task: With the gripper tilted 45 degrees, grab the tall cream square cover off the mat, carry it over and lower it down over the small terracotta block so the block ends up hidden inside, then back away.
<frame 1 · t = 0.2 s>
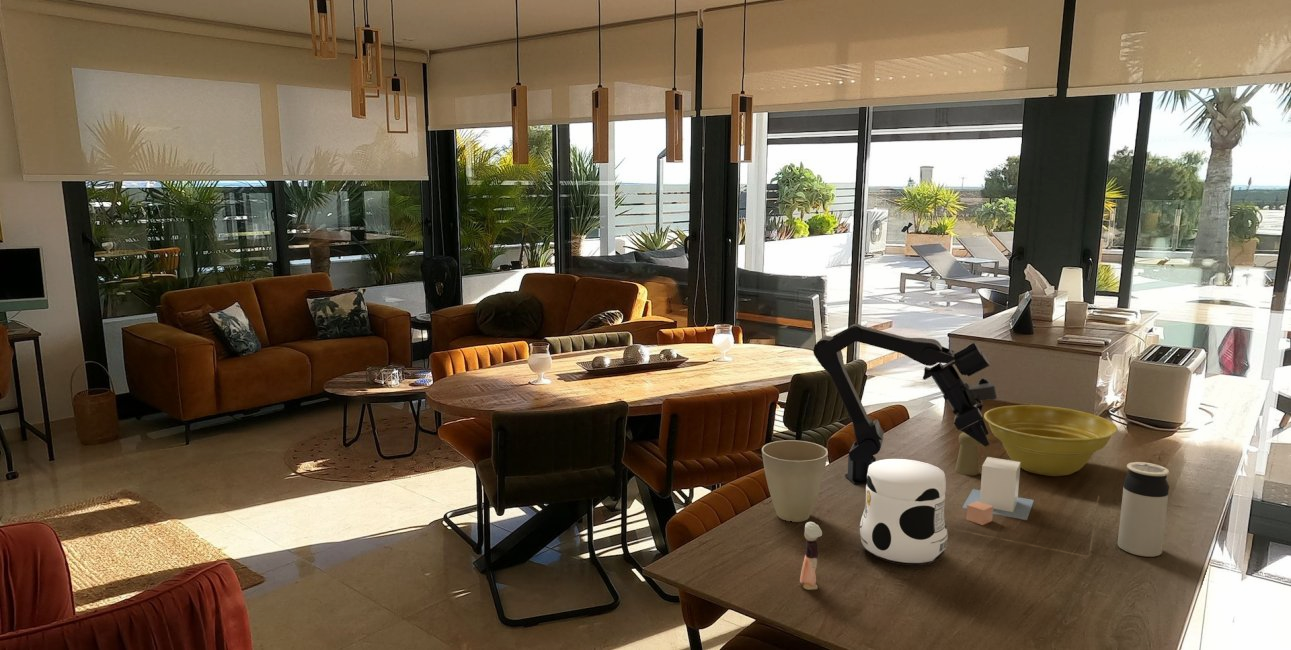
hand: (987, 439, 199), 14 cm above the table, tool tilted 35°, fingers open, 9 cm apart
planter bowl: (1044, 468, 222), on the table
plant pot: (792, 516, 189), on the table
cover: (998, 503, 195), resting on mat
block: (979, 522, 186), on the table
grandmother figurine: (809, 586, 156), on the table
milk container: (901, 554, 170), on the table
travel mug: (1139, 550, 172), on the table
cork: (966, 473, 218), on the table
mat: (998, 505, 195), on the table
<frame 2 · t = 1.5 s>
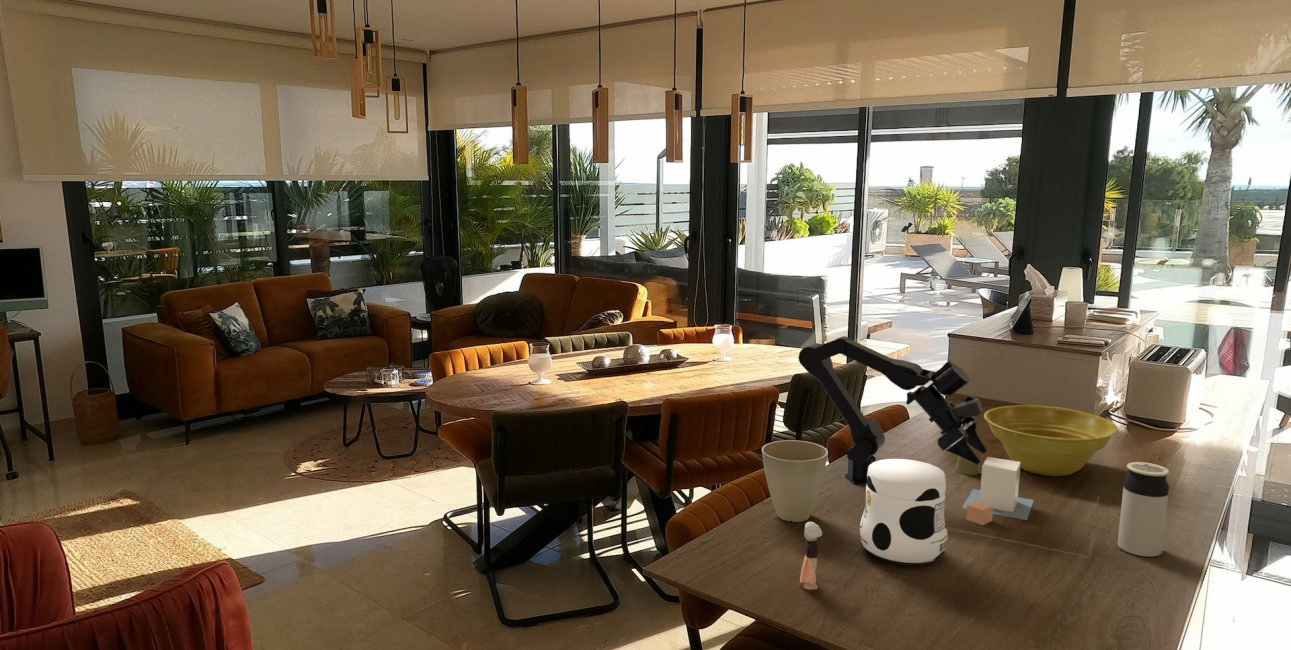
hand: (982, 457, 196), 11 cm above the table, tool tilted 45°, fingers open, 9 cm apart
nothing on the table moved.
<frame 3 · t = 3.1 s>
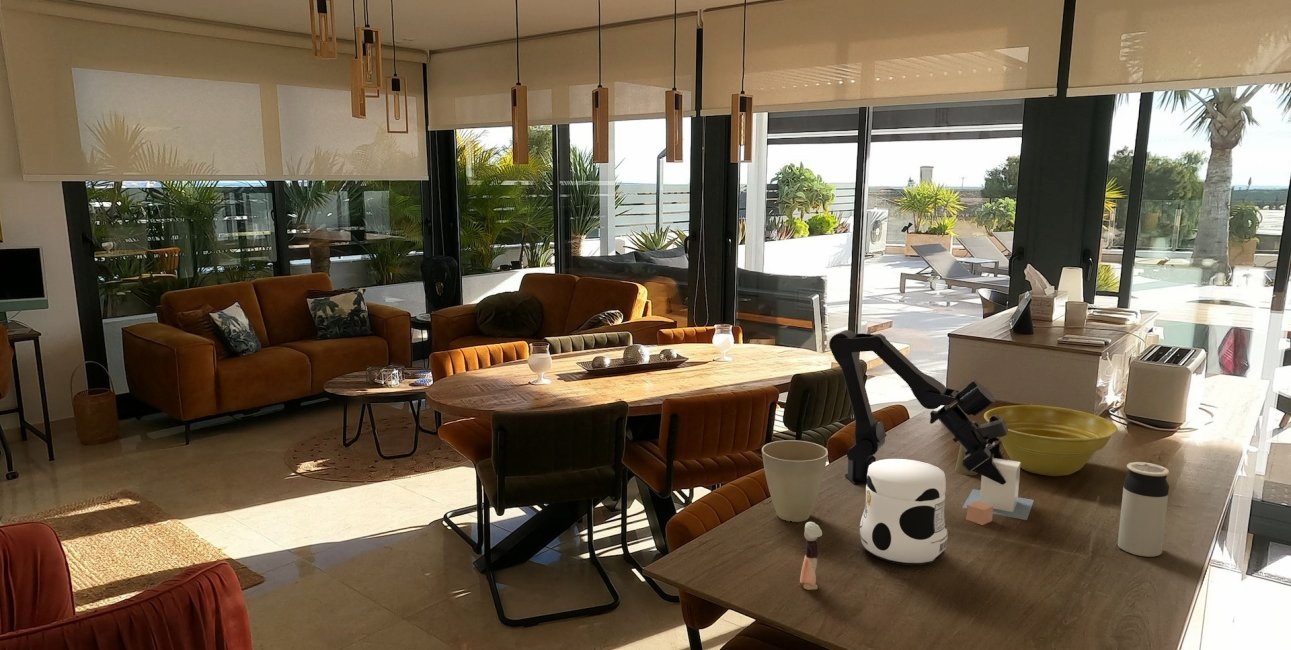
hand: (1006, 478, 194), 7 cm above the table, tool tilted 45°, fingers closed on cover, 7 cm apart
cover: (998, 503, 195), resting on mat, touching gripper
everything else where it was.
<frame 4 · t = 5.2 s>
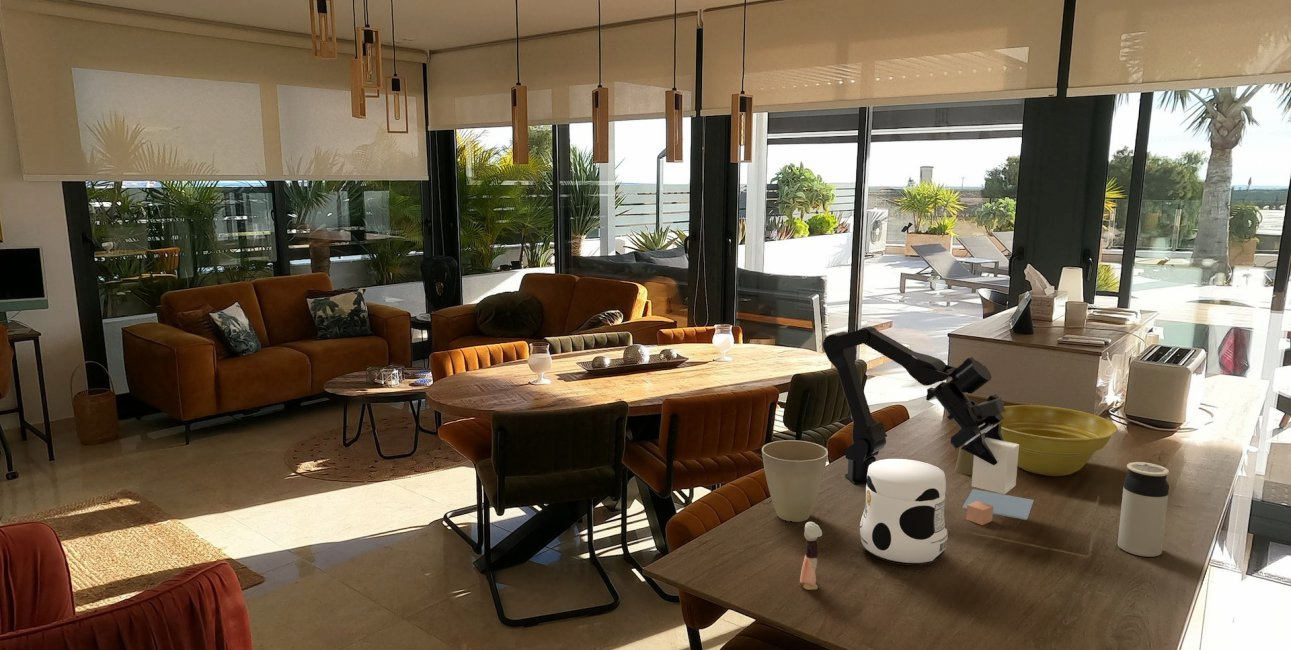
hand: (1001, 459, 187), 13 cm above the table, tool tilted 45°, fingers closed on cover, 7 cm apart
cover: (993, 485, 189), point 7 cm above the table, touching gripper
everything else where it was.
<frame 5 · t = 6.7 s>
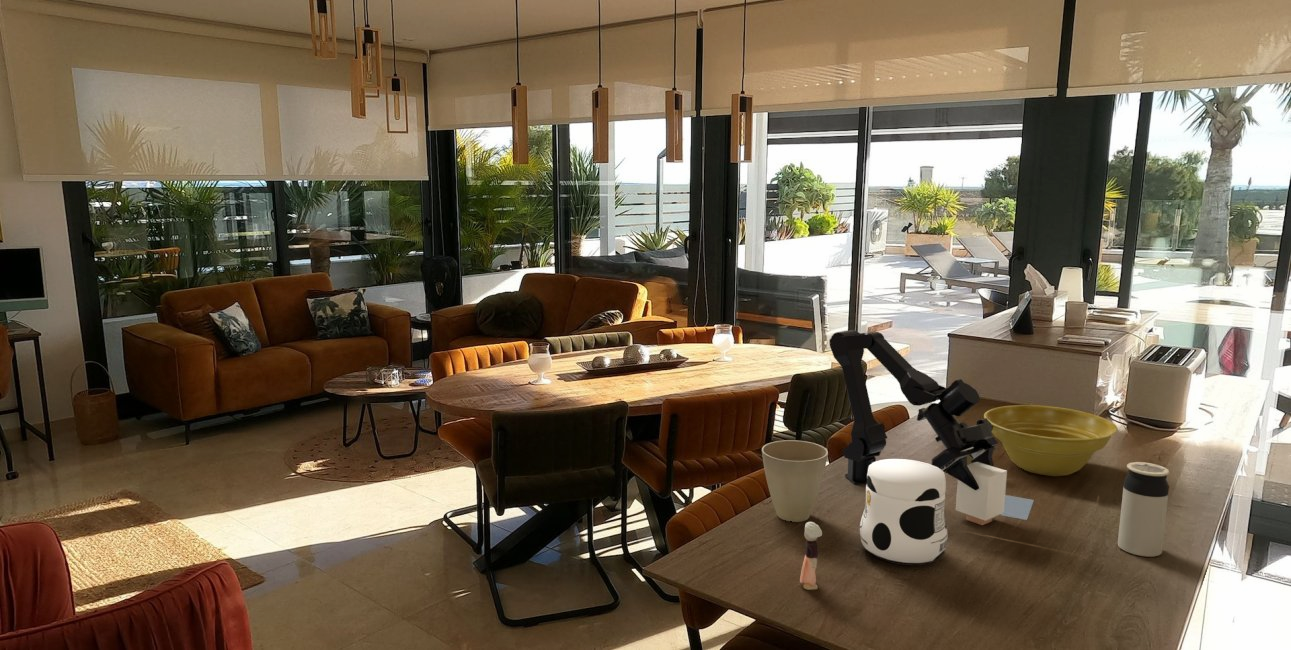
hand: (987, 485, 183), 9 cm above the table, tool tilted 45°, fingers closed on cover, 7 cm apart
cover: (979, 511, 186), point 2 cm above the table, touching gripper
everything else where it was.
when the fingers open (8 cm above the table, at t = 7.5 s): cover drops 1 cm, on the table.
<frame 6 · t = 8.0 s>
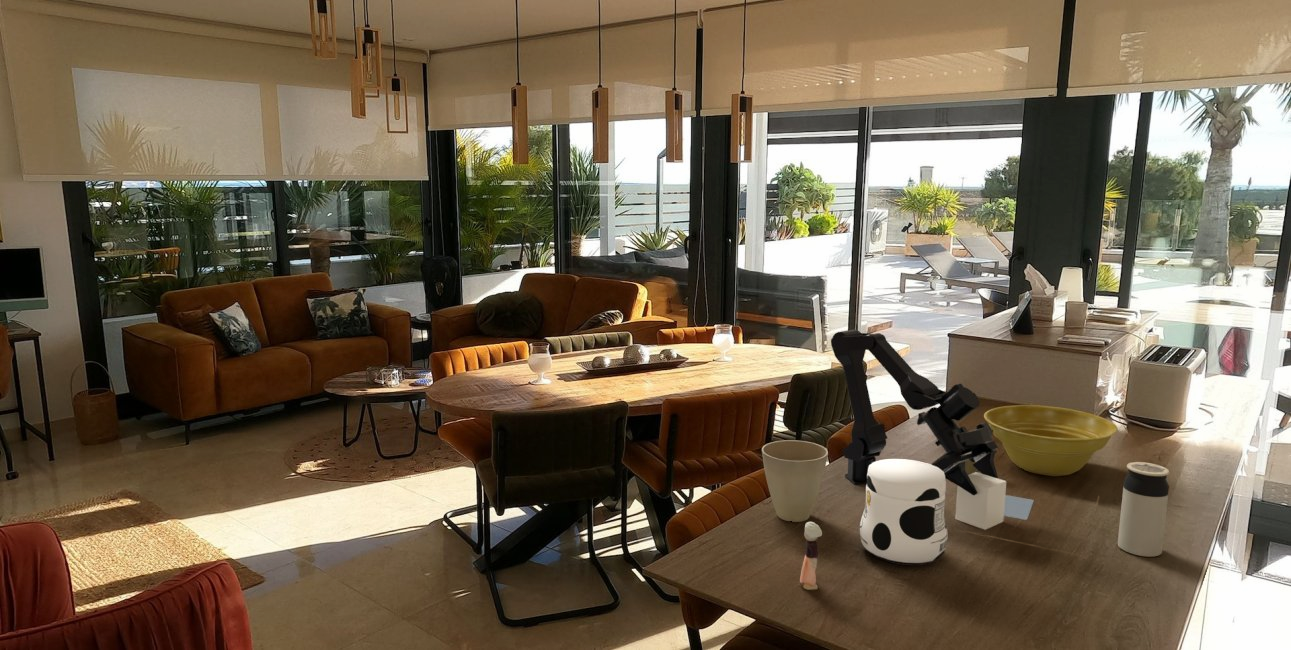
hand: (987, 489, 183), 8 cm above the table, tool tilted 45°, fingers open, 9 cm apart
cover: (979, 521, 186), on the table
everything else where it was.
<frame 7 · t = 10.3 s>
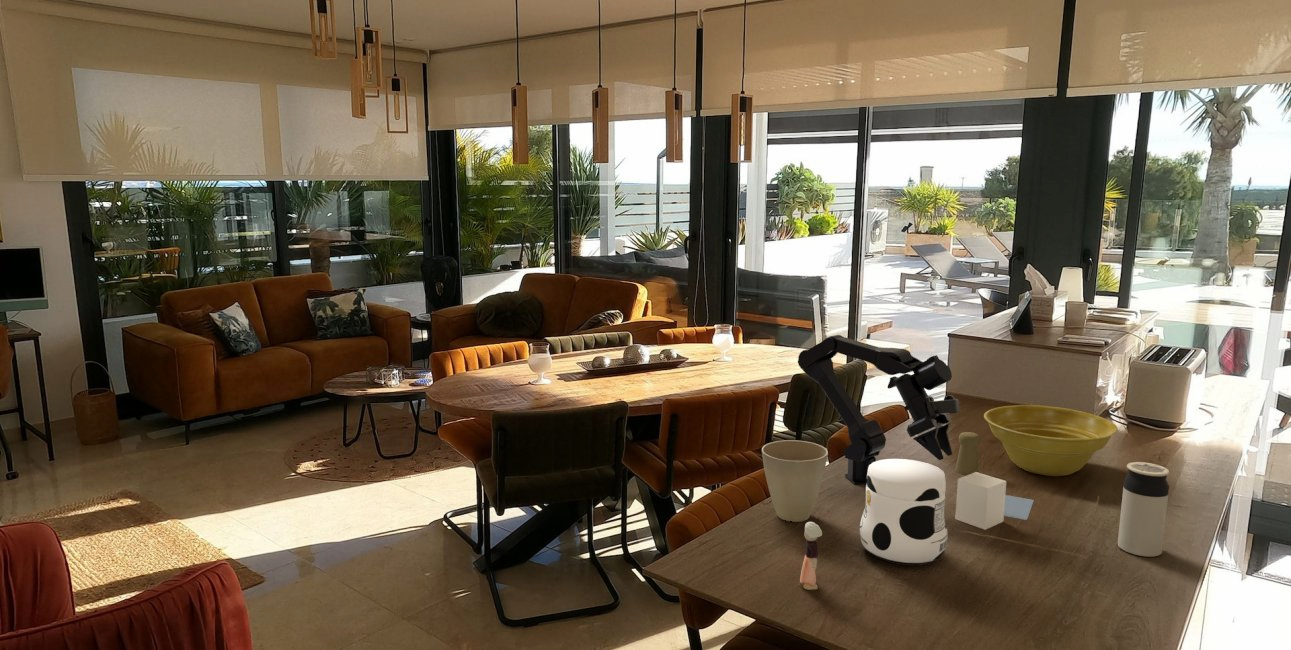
hand: (946, 457, 194), 12 cm above the table, tool tilted 35°, fingers open, 9 cm apart
nothing on the table moved.
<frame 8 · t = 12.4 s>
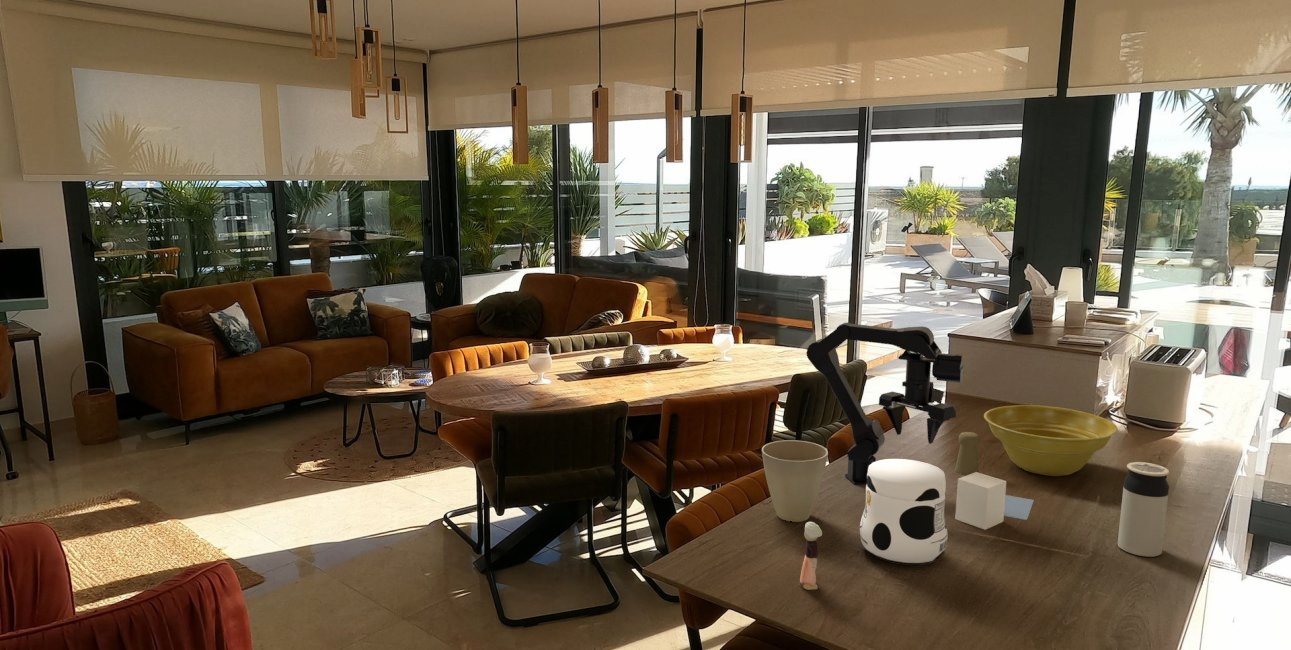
hand: (914, 438, 204), 13 cm above the table, tool pointing down, fingers open, 9 cm apart
nothing on the table moved.
at the end: cover 0.0 cm off-centre on the block, point 0.1 cm above the block's base; cover tilted 0°; the gripper is holding nothing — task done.
